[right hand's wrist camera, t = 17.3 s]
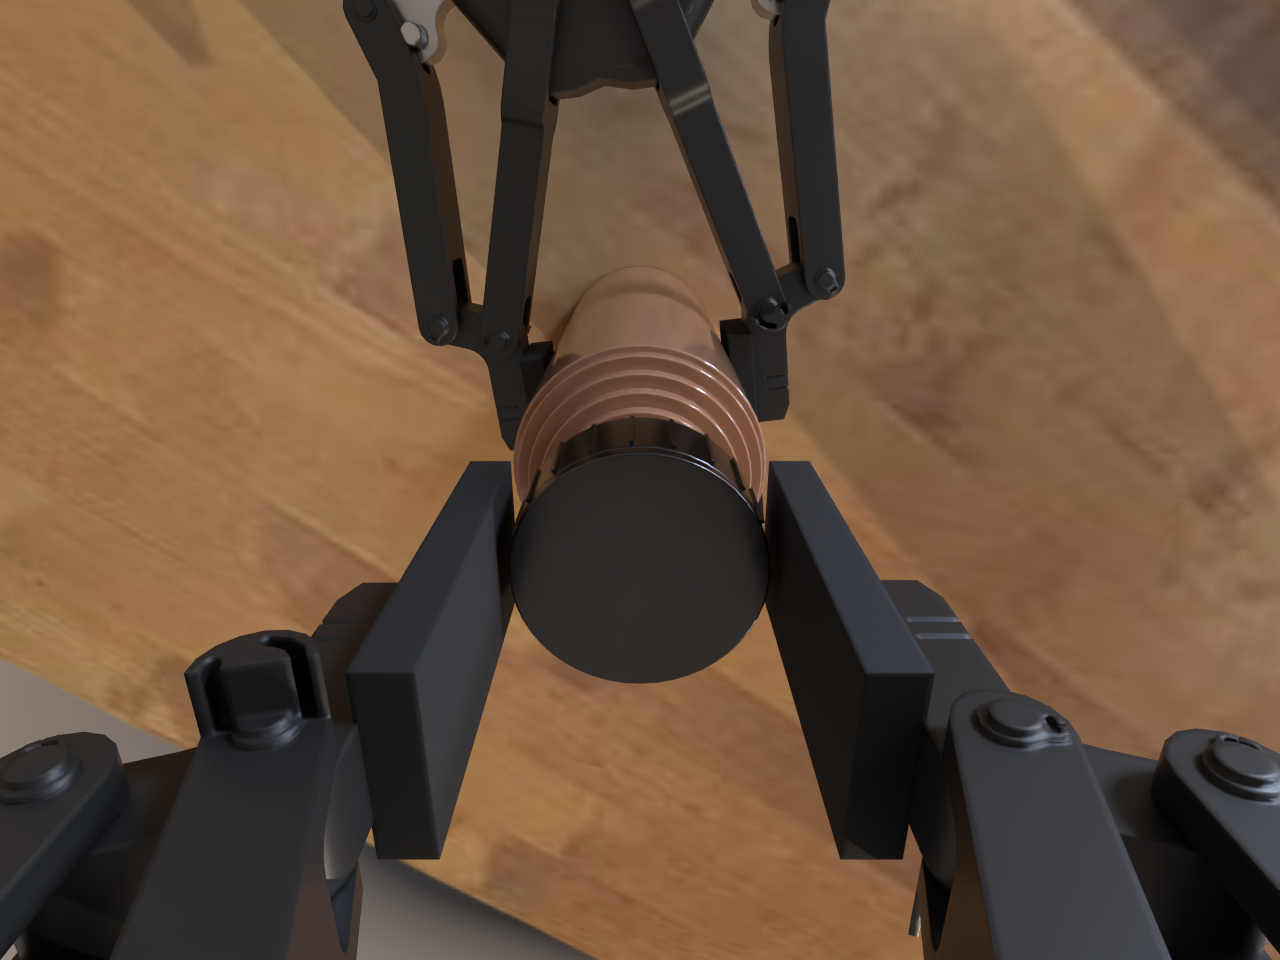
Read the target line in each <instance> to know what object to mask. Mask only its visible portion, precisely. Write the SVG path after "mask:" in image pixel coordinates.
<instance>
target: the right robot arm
mask: <svg viewBox="0 0 1280 960" xmlns="http://www.w3.org/2000/svg"><path fill="white" fill-rule="evenodd" d="M514 525H515V518H514V503H513V489H512V474H511V461H470V463H469V465H468V466H467V468H466V470H465V471H464V473H463V475H462V476H461V478H460V480H459V482H458V483H457V485H456V487H455V488H454V490H453V492H452V493H451V495H450V497H449V498H448V500H447V502H446V503H445V505H444V507H443V509H442V510H441V512H440V514H439V515H438V517H437V519H436V520H435V522H434V524H433V525H432V527H431V529H430V530H429V532H428V534H427V536H426V537H425V539H424V541H423V542H422V544H421V546H420V547H419V549H418V551H417V552H416V554H415V556H414V557H413V559H412V561H411V563H410V564H409V566H408V568H407V569H406V571H405V573H404V574H403V576H402V578H401V579H400V581H399V583H362V584H360V585H359V586H357V587H356V588H354V589H353V590H351V591H350V592H349V593H347V594H346V595H344V596H343V597H341V598H340V599H338V600H337V601H336V602H335V604H334V605H333V607H332V608H331V610H330V611H329V612H328V614H327V615H326V617H325V618H324V619H323V624H320V625H319V626H318V628H317V629H316V631H315V632H314V633H313V635H312V636H311V637H309V636H308V635H307V634H304V633H299V632H295V631H291V630H269V631H261V632H256V633H252V634H247V635H243V636H239V637H237V638H234V639H232V640H229V641H227V642H224V643H222V644H219V645H217V646H215V647H213V648H212V649H210V650H209V651H207V652H206V653H204V654H203V655H201V656H200V657H198V658H197V659H196V660H195V661H194V662H193V663H192V664H191V666H190V667H189V668H188V669H187V670H186V672H185V673H184V676H185V680H186V684H187V687H188V691H189V695H190V699H191V702H192V706H193V710H194V713H195V717H196V721H197V725H198V728H199V732H200V736H201V738H200V741H199V743H198V746H197V747H195V748H191V749H188V750H184V751H180V752H176V753H172V754H167V755H163V756H157V757H153V758H148V759H143V760H139V761H134V762H129V763H125V764H122V761H121V758H120V755H119V752H118V749H117V745H116V744H115V743H114V742H113V741H112V740H110V739H109V738H108V737H106V736H105V735H102V734H95V733H89V732H79V733H71V734H63V735H57V736H53V737H49V738H45V739H44V740H39V741H36V742H33V743H30V744H28V745H25V746H24V747H22V748H20V749H18V750H16V751H14V752H12V753H10V754H8V755H6V756H4V757H2V758H0V960H1V958H2V957H3V956H4V955H5V953H6V952H7V951H8V950H9V948H10V947H11V946H12V945H13V943H14V945H15V948H16V950H17V954H16V955H15V956H14V957H13V959H12V960H356V955H357V945H358V935H359V925H360V915H361V904H362V894H363V886H362V879H361V873H360V867H359V862H358V858H359V855H360V853H361V850H362V848H363V846H364V843H365V841H366V838H367V836H368V833H369V831H370V829H371V826H372V831H373V837H374V843H375V848H376V854H377V859H440V856H441V853H442V849H443V846H444V843H445V839H446V836H447V832H448V829H449V826H450V822H451V819H452V815H453V812H454V809H455V805H456V802H457V798H458V795H459V791H460V788H461V785H462V781H463V778H464V774H465V771H466V768H467V764H468V761H469V757H470V754H471V751H472V747H473V744H474V740H475V737H476V733H477V730H478V727H479V723H480V720H481V716H482V713H483V710H484V706H485V703H486V699H487V696H488V692H489V689H490V686H491V682H492V679H493V675H494V672H495V669H496V665H497V662H498V658H499V655H500V652H501V648H502V645H503V641H504V638H505V634H506V631H507V628H508V624H509V621H510V617H511V614H512V611H513V607H514V604H515V601H514V597H513V594H512V591H511V585H510V578H509V557H510V550H511V544H512V541H513V538H514V537H511V533H512V530H513V528H514ZM765 536H766V539H767V542H768V547H769V552H770V555H771V559H770V565H771V575H770V582H769V589H768V592H767V596H766V599H765V604H766V607H767V611H768V614H769V617H770V621H771V624H772V628H773V631H774V634H775V638H776V641H777V645H778V648H779V652H780V655H781V658H782V662H783V665H784V669H785V672H786V675H787V679H788V682H789V686H790V689H791V692H792V696H793V699H794V703H795V706H796V710H797V713H798V716H799V720H800V723H801V727H802V730H803V733H804V737H805V740H806V744H807V747H808V750H809V754H810V757H811V761H812V764H813V768H814V771H815V774H816V778H817V781H818V785H819V788H820V791H821V795H822V798H823V802H824V805H825V809H826V812H827V815H828V819H829V822H830V826H831V829H832V832H833V836H834V839H835V843H836V846H837V849H838V853H839V856H840V859H903V854H904V848H905V843H906V837H907V831H908V825H910V827H911V830H912V832H913V835H914V837H915V839H916V842H917V844H918V847H919V849H920V851H921V854H922V856H923V857H922V862H921V867H920V873H919V878H918V883H917V889H916V894H915V899H914V905H913V910H912V915H911V921H910V928H909V934H908V935H912V936H916V937H918V936H919V931H920V926H921V933H922V943H923V953H924V960H1272V959H1271V958H1270V957H1269V955H1268V954H1267V953H1266V952H1265V950H1264V948H1265V945H1266V943H1267V941H1268V940H1269V942H1270V943H1271V944H1272V945H1273V947H1274V948H1275V949H1276V950H1277V951H1278V953H1279V954H1280V754H1278V753H1276V752H1274V751H1272V750H1270V749H1268V748H1266V747H1264V746H1262V745H1260V744H1258V743H1256V742H1254V741H1252V740H1249V739H1246V738H1244V737H1241V736H1240V737H1238V736H1237V735H1233V734H1229V733H1225V732H1220V731H1212V730H1204V729H1191V730H1184V731H1177V732H1175V733H1174V734H1173V735H1172V736H1170V737H1169V738H1168V739H1166V740H1165V742H1164V745H1163V748H1162V752H1161V755H1160V758H1159V761H1157V760H1152V759H1147V758H1142V757H1138V756H1133V755H1128V754H1124V753H1119V752H1114V751H1109V750H1105V749H1100V748H1097V747H1093V746H1090V745H1086V744H1082V742H1081V739H1080V737H1079V735H1078V734H1077V733H1076V731H1075V730H1074V728H1073V727H1072V725H1071V724H1070V723H1069V721H1068V720H1067V719H1065V718H1064V717H1063V716H1061V715H1060V714H1059V713H1057V712H1056V711H1055V710H1053V709H1052V708H1051V707H1050V706H1047V705H1045V704H1043V703H1041V702H1039V701H1037V700H1035V699H1032V698H1030V697H1028V696H1026V695H1022V694H1018V693H1013V692H1011V691H1010V690H1009V689H1008V687H1007V686H1006V684H1005V683H1004V682H1003V680H1002V679H1001V677H1000V676H999V675H998V673H997V672H996V670H995V669H994V668H993V666H992V665H991V664H990V662H989V661H988V659H987V658H986V657H985V655H984V654H983V652H982V651H981V650H980V648H979V647H978V645H977V644H976V643H975V641H974V640H973V639H970V634H969V633H968V631H967V630H966V629H965V627H964V626H963V625H962V623H961V622H958V618H957V616H956V615H955V613H954V612H953V611H952V609H951V608H950V606H949V605H948V604H947V602H946V601H945V599H944V598H943V597H941V596H940V595H938V594H937V593H935V592H934V591H932V590H931V589H930V588H928V587H927V586H925V585H924V584H922V583H921V582H919V581H918V580H880V579H879V578H878V576H877V574H876V573H875V571H874V569H873V568H872V566H871V564H870V563H869V561H868V559H867V557H866V556H865V554H864V552H863V551H862V549H861V547H860V546H859V544H858V542H857V541H856V539H855V537H854V536H853V534H852V532H851V530H850V529H849V527H848V525H847V524H846V522H845V520H844V519H843V517H842V515H841V514H840V512H839V510H838V509H837V507H836V505H835V503H834V502H833V500H832V498H831V497H830V495H829V493H828V492H827V490H826V488H825V487H824V485H823V483H822V482H821V480H820V478H819V476H818V475H817V473H816V471H815V470H814V468H813V466H812V465H811V463H810V461H769V474H768V489H767V504H766V518H765Z"/></svg>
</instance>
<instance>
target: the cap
mask: <svg viewBox="0 0 1280 960" xmlns="http://www.w3.org/2000/svg"><path fill="white" fill-rule="evenodd" d="M763 523H765V521H764V518H763V516H762V513H761V510H760V507H759V504H758V502H757V499H756V496H755V493H754V491H753V488H749V486H748V484H747V482H746V480H745V478H744V476H743V474H742V472H741V471H740V469H739V466H738V463H737V460H736V459H735V458H734V457H733V458H732V459H731V457H730V456H729V455H728V454H727V453H726V452H725V451H724V450H723V449H722V448H721V447H720V446H718V445H717V444H716V443H715V442H714V441H712V440H711V439H710V438H709V435H708V434H706V433H705V434H704V435H703V434H701V433H700V432H698V431H696V430H694V429H691V428H689V427H687V426H685V425H682V424H678V423H675V422H674V420H673V419H669V421H668V420H662V419H657V418H644V417H635V416H634V415H632V416H630V418H622V419H617V420H612V421H607V422H604V423H601V424H598V425H597V424H596V423H594V424H592V426H591V427H590V428H588V429H586V430H584V431H582V432H580V433H578V434H576V435H575V436H573V437H572V438H570V439H569V440H567V441H566V442H565V443H564V442H563V441H562V442H561V443H559V446H558V449H557V450H555V451H554V452H553V454H552V455H551V456H550V457H549V458H548V459H547V460H546V462H545V463H544V464H543V466H542V467H541V469H538V468H537V469H536V471H535V473H534V476H533V479H532V482H531V485H530V488H529V490H528V493H527V496H526V499H525V500H523V502H522V505H521V508H520V511H519V514H518V516H517V519H516V522H515V525H514V528H513V530H512V533H511V537H514V538H513V541H512V544H511V550H510V557H509V578H510V585H511V591H512V594H513V597H514V601H515V604H516V606H517V609H518V611H519V613H520V615H521V617H522V619H523V621H524V622H525V624H526V625H527V627H528V628H529V630H530V631H531V633H532V634H533V635H534V636H535V637H536V638H537V640H538V641H539V642H540V643H541V644H542V645H543V646H544V647H545V648H546V649H547V650H549V651H550V652H551V653H552V654H553V655H555V656H556V657H557V658H559V659H560V660H562V661H563V662H565V663H566V664H568V665H570V666H572V667H574V668H576V669H577V670H580V671H582V672H585V673H587V674H590V675H592V676H595V677H599V678H602V679H606V680H610V681H617V682H623V683H640V684H641V683H657V682H663V681H669V680H674V679H677V678H681V677H684V676H688V675H690V674H693V673H695V672H697V671H700V670H702V669H704V668H706V667H708V666H709V665H711V664H713V663H715V662H717V661H718V660H719V659H721V658H722V657H723V656H725V655H726V654H728V653H729V652H730V651H731V650H732V649H733V648H734V647H735V646H736V645H738V644H739V643H740V642H741V640H742V639H743V638H744V637H745V636H746V634H747V633H748V632H749V631H750V629H751V628H752V626H753V625H754V623H755V621H756V620H757V618H758V616H759V614H760V612H761V610H762V607H763V605H764V603H765V599H766V596H767V592H768V589H769V582H770V575H771V565H770V559H771V555H770V552H769V547H768V542H767V539H766V536H765V533H764V530H763V527H762V524H763Z"/></svg>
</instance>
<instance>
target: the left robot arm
mask: <svg viewBox="0 0 1280 960" xmlns="http://www.w3.org/2000/svg"><path fill="white" fill-rule="evenodd" d="M713 1H714V0H343V10H344V13H345V16H346V19H347V21H348V23H349V25H350V27H351V29H352V31H353V33H354V35H355V37H356V39H357V41H358V43H359V45H360V47H361V49H362V51H363V53H364V55H365V57H366V59H367V61H368V63H369V65H370V67H371V69H372V71H373V73H374V75H375V77H376V79H377V81H378V86H379V92H380V98H381V104H382V110H383V116H384V122H385V127H386V133H387V139H388V145H389V151H390V157H391V163H392V169H393V175H394V181H395V187H396V193H397V199H398V205H399V211H400V217H401V223H402V229H403V235H404V241H405V247H406V253H407V259H408V265H409V271H410V277H411V283H412V289H413V295H414V301H415V307H416V313H417V319H418V325H419V329H420V332H421V335H422V336H423V337H424V339H425V340H426V341H427V342H429V343H431V344H433V345H436V346H444V345H447V344H449V345H453V346H457V347H462V348H466V349H470V350H472V351H475V352H476V353H478V354H479V355H480V356H481V357H482V358H483V359H484V360H485V362H486V363H487V366H488V369H489V373H490V379H491V384H492V389H493V394H494V399H495V404H496V408H497V414H498V419H499V424H500V429H501V435H502V438H503V439H504V441H505V443H506V444H507V446H508V447H509V449H510V450H514V447H515V441H516V437H517V432H518V429H519V426H520V424H521V421H522V418H523V416H524V413H525V411H526V409H527V407H528V405H529V403H530V401H531V399H532V397H533V395H534V393H535V391H536V389H537V387H538V385H539V382H540V380H541V378H542V376H543V374H544V372H545V370H546V368H547V366H548V364H549V362H550V360H551V358H552V356H553V354H554V349H553V343H552V341H546V342H538V343H531V344H530V345H529V342H528V336H527V334H528V333H529V331H530V328H531V326H529V321H530V313H531V306H532V298H533V290H534V282H535V274H536V266H537V258H538V251H539V243H540V235H541V227H542V219H543V211H544V203H545V196H546V188H547V180H548V172H549V164H550V156H551V149H552V141H553V135H554V132H555V128H556V122H557V115H558V108H559V100H560V99H566V98H573V97H581V96H583V95H585V94H587V93H590V92H592V91H594V90H596V89H599V88H601V87H603V86H612V87H618V88H624V89H631V90H633V89H641V88H648V87H655V89H656V92H657V94H658V97H659V99H660V102H661V105H662V107H663V110H664V112H665V114H666V116H667V118H668V120H669V123H670V125H671V128H672V130H673V133H674V135H675V138H676V141H677V143H678V146H679V148H680V151H681V153H682V156H683V159H684V161H685V164H686V166H687V169H688V171H689V174H690V177H691V179H692V182H693V184H694V187H695V189H696V192H697V195H698V197H699V200H700V202H701V205H702V207H703V210H704V213H705V215H706V218H707V220H708V223H709V225H710V228H711V231H712V233H713V236H714V238H715V241H716V243H717V246H718V249H719V251H720V254H721V256H722V259H723V261H724V264H725V266H726V269H727V272H728V274H729V277H730V279H731V282H732V284H733V287H734V290H735V292H736V295H737V297H738V300H739V302H740V305H741V311H742V319H741V318H739V319H730V320H722V321H719V322H720V334H721V344H722V346H723V348H724V350H725V352H726V354H727V356H728V358H729V360H730V362H731V364H732V367H733V369H734V371H735V373H736V375H737V377H738V379H739V381H740V383H741V385H742V387H743V389H744V391H745V393H746V396H747V398H748V400H749V402H750V404H751V406H752V408H753V410H754V412H755V414H756V416H757V419H758V422H763V421H772V420H781V419H784V417H785V415H786V412H787V409H788V406H789V390H788V369H787V348H786V328H787V325H788V322H789V321H790V319H791V317H792V316H793V315H794V314H795V313H796V312H797V311H799V310H801V309H802V308H804V307H806V306H808V305H811V304H813V303H815V302H817V301H819V300H828V299H830V298H833V297H835V296H836V295H837V294H838V293H839V292H840V291H841V289H842V287H843V286H844V281H845V269H844V256H843V243H842V230H841V217H840V204H839V191H838V178H837V165H836V152H835V139H834V126H833V113H832V100H831V87H830V74H829V61H828V48H827V35H826V22H825V20H826V16H827V12H828V7H829V3H830V0H751V4H752V8H753V9H754V11H755V12H756V14H758V15H759V16H760V17H762V18H764V19H767V20H771V21H770V27H769V63H770V72H771V82H772V92H773V102H774V111H775V121H776V131H777V141H778V150H779V160H780V170H781V180H782V189H783V199H784V209H785V219H786V229H787V238H788V248H789V258H790V264H788V265H786V266H784V267H782V268H780V269H778V270H776V271H775V269H774V266H773V263H772V260H771V258H770V255H769V252H768V250H767V247H766V244H765V241H764V239H763V236H762V233H761V230H760V228H759V225H758V222H757V219H756V217H755V214H754V211H753V209H752V206H751V203H750V200H749V198H748V195H747V192H746V189H745V187H744V184H743V181H742V179H741V176H740V173H739V170H738V168H737V165H736V162H735V159H734V157H733V154H732V151H731V148H730V146H729V143H728V140H727V138H726V135H725V132H724V129H723V127H722V124H721V121H720V118H719V116H718V113H717V110H716V108H715V105H714V102H713V99H712V96H711V92H710V87H709V83H708V80H707V77H706V74H705V71H704V69H703V66H702V63H701V60H700V58H699V55H698V52H697V49H696V47H695V44H694V41H693V40H694V38H695V37H696V35H697V33H698V31H699V29H700V27H701V25H702V23H703V21H704V19H705V17H706V15H707V13H708V11H709V9H710V7H711V5H712V3H713ZM454 6H456V7H457V8H458V9H459V10H460V11H461V12H462V14H463V15H464V16H465V17H466V18H467V19H468V20H469V22H470V23H471V24H472V25H473V26H474V27H475V28H476V30H477V31H478V32H479V33H480V34H481V35H482V36H483V38H484V39H485V40H486V41H487V42H488V43H489V44H490V46H491V47H492V48H493V49H494V50H495V51H496V52H497V54H498V55H499V56H500V57H501V58H502V59H503V60H504V62H505V69H504V79H503V89H502V99H501V121H502V129H501V139H500V149H499V158H498V168H497V177H496V187H495V197H494V206H493V216H492V225H491V235H490V245H489V254H488V264H487V274H486V283H485V293H484V302H483V305H479V304H475V303H472V302H471V295H470V287H469V280H468V273H467V266H466V259H465V252H464V244H463V237H462V230H461V223H460V216H459V209H458V201H457V194H456V187H455V180H454V173H453V166H452V159H451V151H450V144H449V137H448V130H447V123H446V116H445V108H444V102H443V97H442V92H441V88H440V84H439V81H438V78H437V74H436V71H435V69H434V66H433V65H435V64H437V63H438V62H439V61H440V60H441V59H442V58H443V56H444V54H445V51H446V40H445V35H444V30H443V27H444V20H445V17H446V15H447V13H448V12H449V10H450V9H452V8H453V7H454ZM758 504H759V507H760V510H761V513H762V516H763V518H764V513H763V497H762V494H761V497H760V499H759V502H758Z"/></svg>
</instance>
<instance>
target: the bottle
mask: <svg viewBox="0 0 1280 960" xmlns="http://www.w3.org/2000/svg"><path fill="white" fill-rule="evenodd" d="M632 415H634V416H635V417H644V418H657V419H662V420H668V421H669V419H673V420H674V422H675V423H678V424H682V425H685V426H687V427H689V428H691V429H694V430H696V431H698V432H700V433H701V434H703V435H704V434H705V433H706V434H708V435H709V438H710V439H711V440H712V441H714V442H715V443H716V444H717V445H718V446H720V447H721V448H722V449H723V450H724V451H725V452H726V453H727V454H728V455H729V456H730V457H731V459H732V458H733V457H734V458H735V459H736V460H737V463H738V466H739V469H740V471H741V472H742V474H743V476H744V478H745V480H746V482H747V484H748V486H749V488H753V491H754V493H755V496H756V499H757V502H759V499H760V497H761V494H762V490H763V485H764V481H765V473H766V450H765V443H764V438H763V434H762V430H761V427H760V424H759V422H758V419H757V416H756V414H755V412H754V410H753V408H752V406H751V404H750V402H749V400H748V398H747V396H746V393H745V391H744V389H743V387H742V385H741V383H740V381H739V379H738V377H737V375H736V373H735V371H734V369H733V367H732V364H731V362H730V360H729V358H728V356H727V354H726V352H725V350H724V348H723V346H722V344H721V342H720V340H719V338H718V335H717V333H716V331H715V329H714V327H713V325H712V323H711V321H710V319H709V317H708V315H707V313H706V311H705V309H704V307H703V305H702V303H701V301H700V299H699V298H698V297H697V295H696V294H695V292H694V291H693V290H692V289H691V288H690V287H689V286H688V285H687V284H686V283H684V282H683V281H682V280H681V279H679V278H678V277H676V276H674V275H673V274H670V273H668V272H666V271H663V270H660V269H656V268H651V267H629V268H624V269H620V270H616V271H614V272H612V273H609V274H607V275H606V276H604V277H602V278H601V279H599V280H598V281H597V282H595V283H594V284H593V285H592V286H591V287H590V288H589V289H588V290H587V291H586V292H585V294H584V295H583V296H582V298H581V299H580V301H579V303H578V304H577V306H576V308H575V310H574V312H573V314H572V316H571V319H570V321H569V323H568V325H567V327H566V329H565V331H564V333H563V335H562V337H561V339H560V341H559V343H558V345H557V347H556V349H555V352H554V354H553V356H552V358H551V360H550V362H549V364H548V366H547V368H546V370H545V372H544V374H543V376H542V378H541V380H540V382H539V385H538V387H537V389H536V391H535V393H534V395H533V397H532V399H531V401H530V403H529V405H528V407H527V409H526V411H525V413H524V416H523V418H522V421H521V424H520V426H519V429H518V432H517V437H516V441H515V447H514V459H513V463H514V477H515V482H516V487H517V492H518V495H519V497H520V500H521V503H522V502H523V500H525V499H526V496H527V493H528V490H529V488H530V485H531V482H532V479H533V476H534V473H535V471H536V469H537V468H538V469H541V467H542V466H543V464H544V463H545V462H546V460H547V459H548V458H549V457H550V456H551V455H552V454H553V452H554V451H555V450H557V449H558V446H559V443H561V442H562V441H563V442H564V443H565V442H566V441H567V440H569V439H570V438H572V437H573V436H575V435H576V434H578V433H580V432H582V431H584V430H586V429H588V428H590V427H591V426H592V424H594V423H596V424H597V425H598V424H601V423H604V422H607V421H612V420H617V419H622V418H630V416H632Z"/></svg>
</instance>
